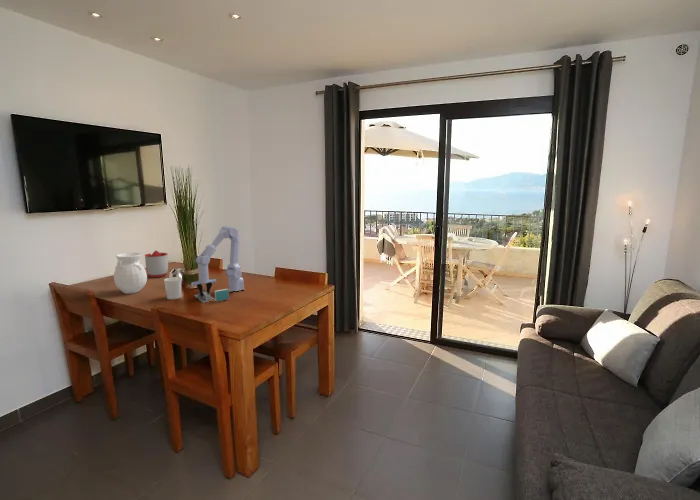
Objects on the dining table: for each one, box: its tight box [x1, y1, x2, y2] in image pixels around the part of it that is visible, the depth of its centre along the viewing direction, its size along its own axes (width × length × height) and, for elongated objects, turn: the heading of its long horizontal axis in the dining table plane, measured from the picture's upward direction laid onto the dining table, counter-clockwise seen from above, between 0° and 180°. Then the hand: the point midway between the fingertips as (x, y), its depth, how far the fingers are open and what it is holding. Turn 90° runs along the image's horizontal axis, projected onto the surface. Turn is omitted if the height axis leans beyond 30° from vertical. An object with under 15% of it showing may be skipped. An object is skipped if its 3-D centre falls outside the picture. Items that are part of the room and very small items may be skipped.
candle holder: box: [163, 276, 182, 300], centre depth 228 cm, size 10×10×12 cm
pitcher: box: [113, 252, 148, 295], centre depth 237 cm, size 19×18×25 cm
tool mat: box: [193, 293, 215, 304], centre depth 228 cm, size 8×18×1 cm, turn 39°
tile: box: [214, 288, 230, 302], centre depth 223 cm, size 8×2×7 cm, turn 129°
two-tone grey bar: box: [198, 288, 212, 301], centre depth 228 cm, size 3×14×4 cm, turn 38°
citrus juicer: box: [144, 250, 169, 279], centre depth 278 cm, size 16×17×20 cm
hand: (204, 295), depth 228 cm, fingers open, 3 cm apart
